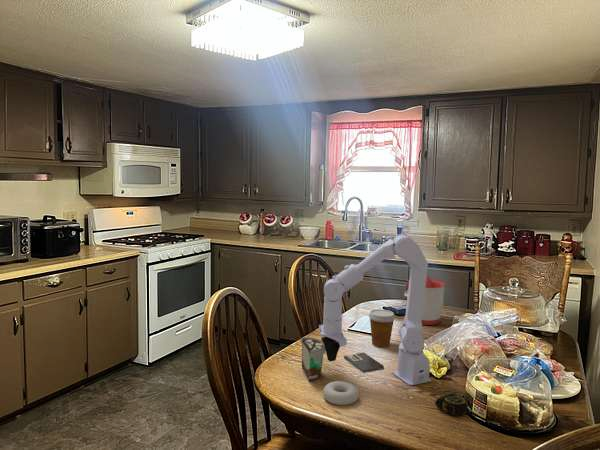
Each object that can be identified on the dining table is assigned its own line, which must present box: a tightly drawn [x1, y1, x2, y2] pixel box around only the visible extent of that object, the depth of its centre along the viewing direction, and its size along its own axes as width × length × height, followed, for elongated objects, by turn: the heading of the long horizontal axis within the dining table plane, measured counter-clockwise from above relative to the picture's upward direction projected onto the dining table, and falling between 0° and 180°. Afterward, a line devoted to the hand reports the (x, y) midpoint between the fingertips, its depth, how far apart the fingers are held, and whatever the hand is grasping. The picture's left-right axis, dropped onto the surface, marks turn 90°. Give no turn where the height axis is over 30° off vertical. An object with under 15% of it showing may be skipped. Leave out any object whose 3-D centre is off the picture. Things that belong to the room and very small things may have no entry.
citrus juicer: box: [403, 275, 446, 326], centre depth 193 cm, size 16×17×20 cm
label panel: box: [343, 352, 385, 373], centre depth 149 cm, size 12×8×1 cm, turn 24°
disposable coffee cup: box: [368, 308, 396, 348], centre depth 166 cm, size 10×10×12 cm
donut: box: [322, 380, 360, 406], centre depth 126 cm, size 10×4×10 cm
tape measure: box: [434, 393, 469, 416], centre depth 119 cm, size 7×7×4 cm
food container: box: [300, 336, 326, 382], centre depth 140 cm, size 12×6×10 cm, turn 13°
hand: (331, 360), depth 142 cm, fingers closed
